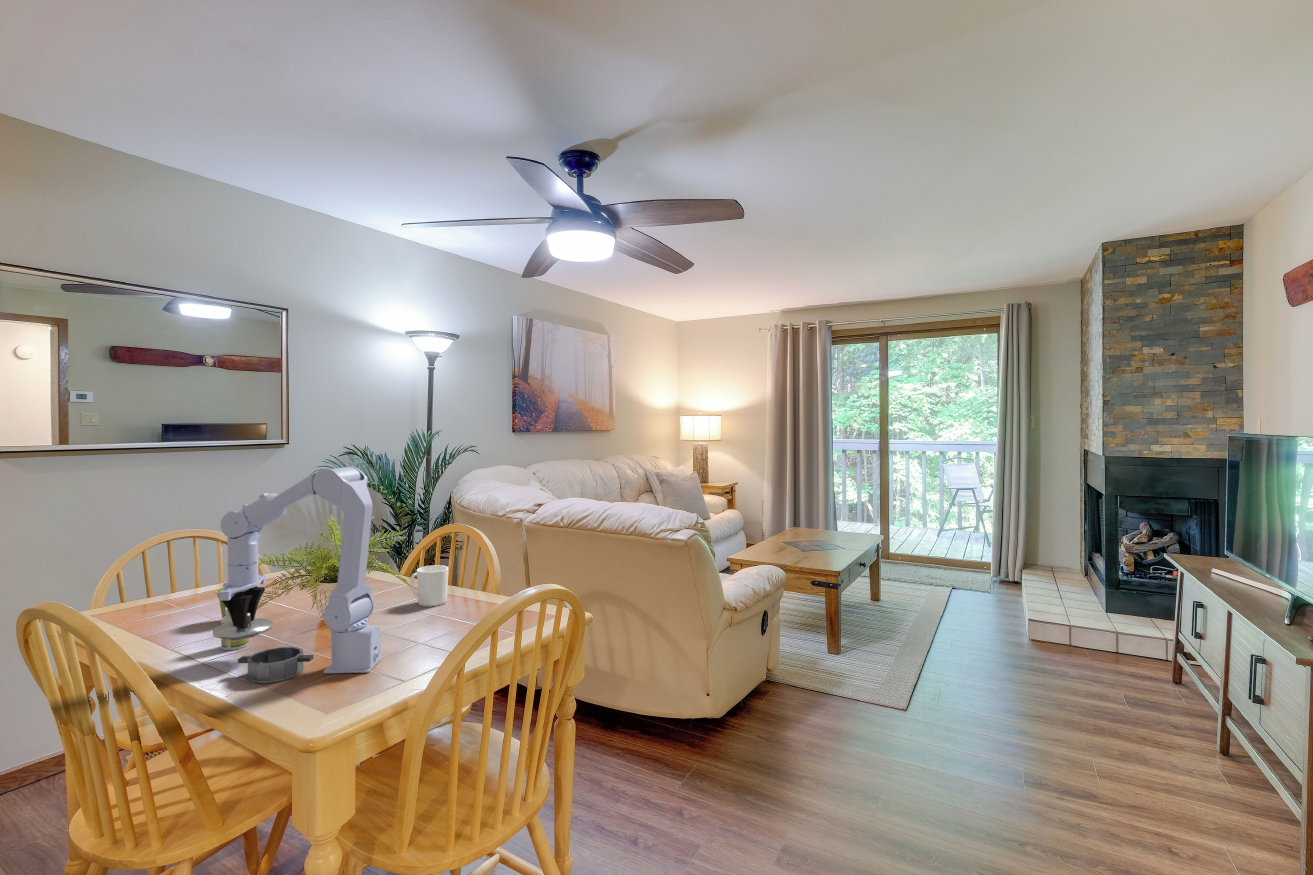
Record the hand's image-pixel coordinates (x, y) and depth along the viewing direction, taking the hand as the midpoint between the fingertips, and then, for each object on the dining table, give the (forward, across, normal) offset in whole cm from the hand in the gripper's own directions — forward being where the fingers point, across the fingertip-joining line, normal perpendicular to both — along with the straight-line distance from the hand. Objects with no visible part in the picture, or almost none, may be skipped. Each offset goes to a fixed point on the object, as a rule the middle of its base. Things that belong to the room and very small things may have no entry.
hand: (243, 623), depth 138 cm
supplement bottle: (+9, -9, -7) cm, 14 cm away
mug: (+9, -42, +29) cm, 52 cm away
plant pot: (+9, -29, -18) cm, 35 cm away
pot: (+8, +8, +11) cm, 16 cm away
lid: (+2, 0, 0) cm, 3 cm away
